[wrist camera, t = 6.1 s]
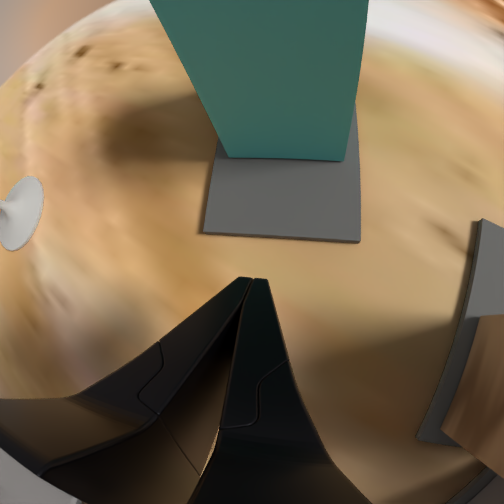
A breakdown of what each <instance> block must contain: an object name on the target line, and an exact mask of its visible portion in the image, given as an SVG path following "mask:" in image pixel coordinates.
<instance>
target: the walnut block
mask: <svg viewBox="0 0 504 504" xmlns="http://www.w3.org/2000/svg"><path fill="white" fill-rule="evenodd" d="M440 430H442V431H443V432H444V433H445V434H447V435H448V436H449V437H450V438H452V439H453V440H454V441H456V442H457V443H458V444H459V445H461V446H462V447H463V448H464V449H466V450H467V451H468V452H470V453H471V454H472V455H473V456H475V457H476V458H477V459H479V460H480V461H481V462H482V463H484V464H485V465H486V466H488V467H489V468H490V469H492V470H493V471H494V472H495V473H497V474H498V475H499V476H501V477H502V478H503V479H504V314H498V315H485V316H480V319H479V322H478V326H477V330H476V334H475V337H474V341H473V344H472V347H471V351H470V354H469V357H468V360H467V363H466V366H465V369H464V372H463V374H462V377H461V380H460V383H459V385H458V388H457V391H456V393H455V396H454V398H453V401H452V403H451V405H450V408H449V410H448V412H447V415H446V417H445V419H444V421H443V423H442V426H441V428H440Z"/></svg>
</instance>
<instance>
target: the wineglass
mask: <svg viewBox="0 0 504 504" xmlns="http://www.w3.org/2000/svg"><path fill="white" fill-rule="evenodd" d="M43 201H44V193H43V187H42V184H41V182H40V181H39V180H38V179H37V178H35V177H33V176H27V177H25V178H23V179H21V180H20V181H19V182H17V183H16V184H15V186H14V187H13V188H12V189H11V191H10V192H9V194H8V195H7V197H6V199H5V201H3V200H0V209H1V213H0V241H1V243H2V245H3V246H4V247H5V248H6V249H8V250H11V251H15V250H18V249H20V248H22V247H23V246H24V245H25V244H26V243H27V242H28V241H29V239H30V238H31V236H32V235H33V233H34V231H35V229H36V227H37V225H38V222H39V219H40V217H41V213H42V208H43Z"/></svg>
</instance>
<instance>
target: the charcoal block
mask: <svg viewBox="0 0 504 504" xmlns="http://www.w3.org/2000/svg"><path fill="white" fill-rule="evenodd" d="M467 504H504V479H503V478H502V477H501V476H499V475H497V476H496V477H495V478H494V479H493V480H492V481H491V482H490V483H489V484H488V485H487V486H486V487H485V488H484V489H483V490H482V491H481V492H479V493H478V494H477V495H476V496H475V497H474V498H473V499H472V500H471V501H469V502H468V503H467Z"/></svg>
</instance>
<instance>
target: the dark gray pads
mask: <svg viewBox="0 0 504 504" xmlns="http://www.w3.org/2000/svg"><path fill="white" fill-rule="evenodd" d="M203 232H204V233H205V234H212V235H231V236H249V237H266V238H283V239H299V240H315V241H330V242H345V243H359V242H360V241H361V190H360V161H359V142H358V128H357V115H356V104H355V105H354V111H353V117H352V122H351V128H350V133H349V138H348V143H347V148H346V153H345V158H344V162H343V161H329V160H311V159H287V158H229V157H228V155H227V153H226V151H225V149H224V147H223V145H222V143H221V140H220V138H219V137H218V142H217V148H216V153H215V159H214V165H213V171H212V177H211V183H210V189H209V196H208V202H207V209H206V215H205V222H204V229H203ZM498 314H504V228H502V227H500V226H498V225H496V224H494V223H492V222H490V221H488V220H486V219H483V218H482V219H481V220H479V222H478V231H477V238H476V245H475V252H474V258H473V263H472V269H471V274H470V279H469V284H468V289H467V293H466V297H465V302H464V306H463V310H462V314H461V317H460V321H459V325H458V328H457V332H456V335H455V338H454V342H453V345H452V348H451V351H450V354H449V357H448V360H447V363H446V366H445V369H444V371H443V374H442V377H441V379H440V382H439V385H438V387H437V390H436V392H435V395H434V397H433V399H432V402H431V404H430V407H429V409H428V411H427V413H426V416H425V418H424V420H423V422H422V424H421V426H420V428H419V431H418V433H417V435H416V438H417V439H418V440H419V441H424V442H430V443H436V444H442V445H448V446H455V447H462V446H461V445H459V444H458V443H457V442H456V441H454V440H453V439H452V438H450V437H449V436H448V435H447V434H445V433H444V432H443V431H442V430H440V428H441V426H442V423H443V421H444V419H445V417H446V415H447V412H448V410H449V408H450V405H451V403H452V401H453V398H454V396H455V393H456V391H457V388H458V385H459V383H460V380H461V377H462V374H463V372H464V369H465V366H466V363H467V360H468V357H469V354H470V351H471V347H472V344H473V341H474V337H475V334H476V330H477V326H478V322H479V319H480V316H485V315H498ZM497 475H498V474H497V473H495V472H494V471H493V470H492V469H490V468H489V467H488V466H487V467H486V468H485V469H484V470H483V471H482V472H481V473H480V474H479V475H478V476H476V477H475V478H474V479H473V480H472V481H471V482H470V483H469V484H468V485H467V486H466V487H465V488H463V489H462V490H461V491H460V492H459V493H458V494H456V495H455V496H454V497H453V498H452V499H451V500H449V501H448V502H447V503H446V504H467V503H468V502H469V501H471V500H472V499H473V498H474V497H475V496H476V495H477V494H478V493H479V492H481V491H482V490H483V489H484V488H485V487H486V486H487V485H488V484H489V483H490V482H491V481H492V480H493V479H494V478H495V477H496V476H497Z"/></svg>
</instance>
